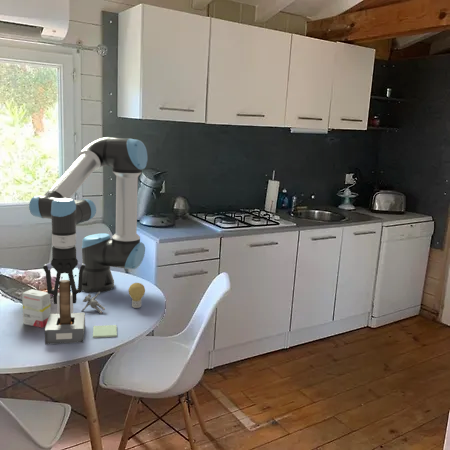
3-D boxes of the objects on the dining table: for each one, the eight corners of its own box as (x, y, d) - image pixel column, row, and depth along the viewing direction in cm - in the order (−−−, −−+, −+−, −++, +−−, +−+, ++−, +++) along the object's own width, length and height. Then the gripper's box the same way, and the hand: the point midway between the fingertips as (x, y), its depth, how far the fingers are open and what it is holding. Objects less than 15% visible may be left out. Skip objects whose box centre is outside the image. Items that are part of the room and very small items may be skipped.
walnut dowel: (60, 321, 167) (59, 280, 164) (71, 320, 168) (70, 279, 165) (59, 325, 164) (58, 283, 160) (70, 325, 165) (70, 283, 161)
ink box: (52, 323, 175) (51, 292, 173) (42, 328, 171) (41, 296, 168) (32, 318, 178) (31, 288, 175) (22, 323, 173) (21, 292, 171)
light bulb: (141, 311, 190) (141, 287, 187) (125, 309, 191) (126, 285, 189) (147, 305, 196) (147, 281, 193) (132, 303, 197) (132, 279, 195)
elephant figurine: (91, 318, 181) (74, 305, 185) (95, 323, 186) (79, 310, 190) (109, 298, 185) (93, 285, 188) (113, 304, 190) (97, 291, 193)
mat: (93, 327, 174) (93, 326, 173) (116, 326, 175) (116, 324, 175) (92, 337, 166) (92, 336, 166) (116, 336, 168) (116, 334, 168)
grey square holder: (49, 327, 172) (49, 313, 171) (85, 325, 175) (84, 312, 174) (45, 344, 160) (44, 330, 158) (83, 342, 162) (83, 328, 161)
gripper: (35, 249, 154) (37, 317, 160) (89, 248, 158) (90, 315, 164) (39, 242, 162) (41, 308, 167) (90, 242, 165) (91, 306, 171)
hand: (65, 312), depth 165 cm, fingers closed on walnut dowel, 3 cm apart
